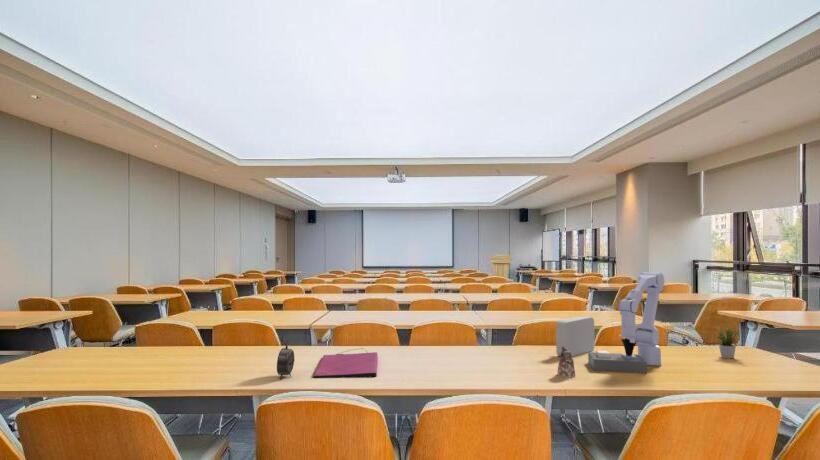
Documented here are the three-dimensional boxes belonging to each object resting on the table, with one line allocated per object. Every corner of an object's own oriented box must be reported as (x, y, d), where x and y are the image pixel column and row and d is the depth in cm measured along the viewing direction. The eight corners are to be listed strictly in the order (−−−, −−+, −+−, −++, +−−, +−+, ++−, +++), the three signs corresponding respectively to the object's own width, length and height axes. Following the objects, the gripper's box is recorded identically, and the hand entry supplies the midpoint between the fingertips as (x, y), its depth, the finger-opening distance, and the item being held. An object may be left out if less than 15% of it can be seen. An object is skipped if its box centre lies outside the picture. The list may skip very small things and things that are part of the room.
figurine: (562, 378, 188) (562, 349, 188) (554, 373, 195) (554, 346, 195) (578, 377, 189) (577, 349, 189) (569, 372, 196) (569, 345, 196)
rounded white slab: (581, 347, 245) (581, 315, 246) (594, 350, 239) (594, 316, 240) (552, 355, 227) (551, 320, 228) (565, 358, 221) (565, 322, 222)
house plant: (753, 358, 222) (752, 325, 222) (742, 362, 214) (741, 328, 214) (720, 353, 233) (719, 321, 234) (708, 356, 226) (708, 324, 226)
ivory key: (608, 360, 207) (607, 351, 207) (610, 363, 202) (610, 353, 203) (596, 360, 208) (596, 350, 209) (598, 362, 203) (598, 352, 204)
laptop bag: (376, 369, 189) (312, 371, 187) (376, 378, 189) (312, 381, 187) (377, 347, 229) (325, 349, 227) (378, 355, 229) (325, 356, 227)
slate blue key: (633, 364, 205) (633, 354, 205) (636, 367, 200) (636, 357, 200) (621, 363, 206) (621, 353, 206) (624, 366, 201) (624, 356, 201)
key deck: (638, 365, 208) (637, 354, 209) (646, 373, 195) (646, 362, 195) (588, 362, 213) (588, 352, 213) (593, 370, 200) (593, 359, 200)
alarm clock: (284, 373, 194) (284, 336, 195) (296, 373, 194) (296, 336, 195) (275, 380, 183) (276, 341, 184) (288, 380, 183) (289, 341, 184)
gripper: (615, 322, 212) (615, 351, 211) (622, 328, 197) (623, 358, 197) (631, 323, 210) (632, 352, 209) (640, 328, 196) (640, 359, 195)
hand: (629, 355), depth 203 cm, fingers closed, pressing on slate blue key
